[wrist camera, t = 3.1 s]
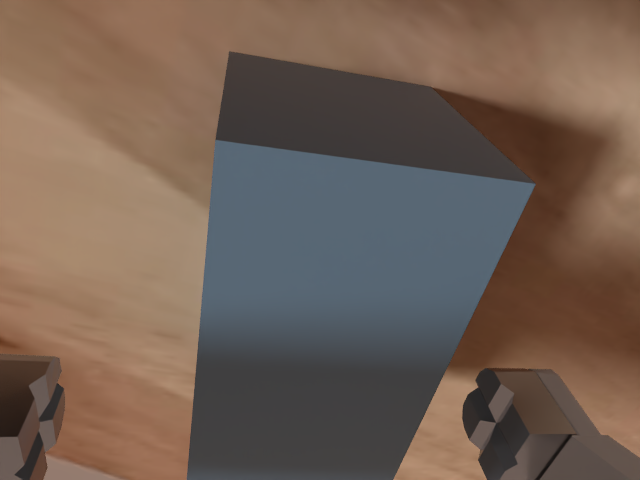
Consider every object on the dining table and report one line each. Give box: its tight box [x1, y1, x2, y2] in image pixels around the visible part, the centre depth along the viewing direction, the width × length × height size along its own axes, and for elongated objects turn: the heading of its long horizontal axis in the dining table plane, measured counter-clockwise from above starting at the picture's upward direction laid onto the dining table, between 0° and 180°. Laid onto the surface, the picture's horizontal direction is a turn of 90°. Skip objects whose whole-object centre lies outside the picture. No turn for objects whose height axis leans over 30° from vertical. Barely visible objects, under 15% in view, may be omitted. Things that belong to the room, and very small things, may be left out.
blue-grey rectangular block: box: [187, 51, 536, 480], centre depth 11 cm, size 4×11×5 cm, turn 169°
